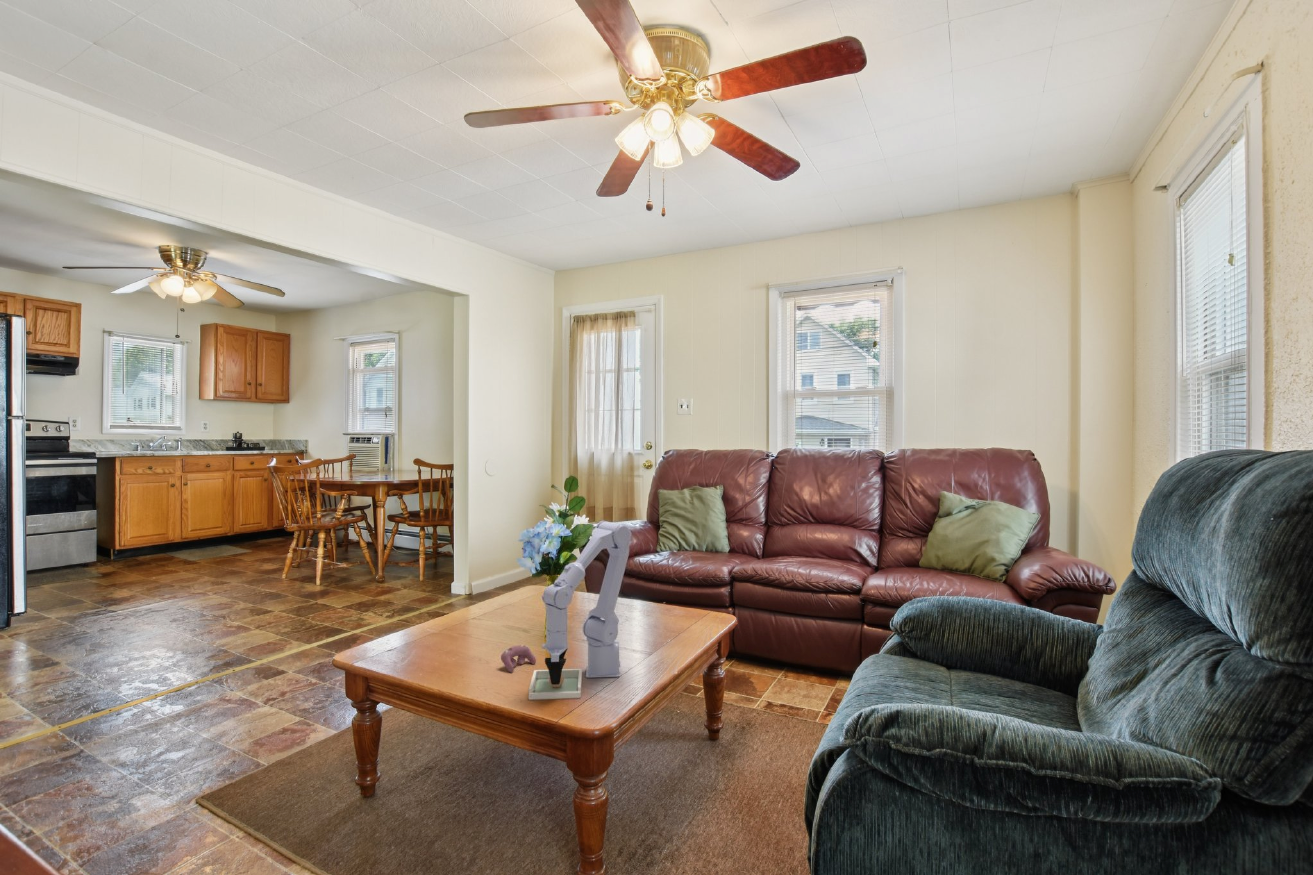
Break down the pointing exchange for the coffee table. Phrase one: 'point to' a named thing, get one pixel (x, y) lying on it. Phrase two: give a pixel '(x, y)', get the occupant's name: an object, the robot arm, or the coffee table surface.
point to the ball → (559, 683)
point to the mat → (567, 685)
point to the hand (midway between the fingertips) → (556, 678)
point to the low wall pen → (555, 695)
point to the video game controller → (517, 651)
